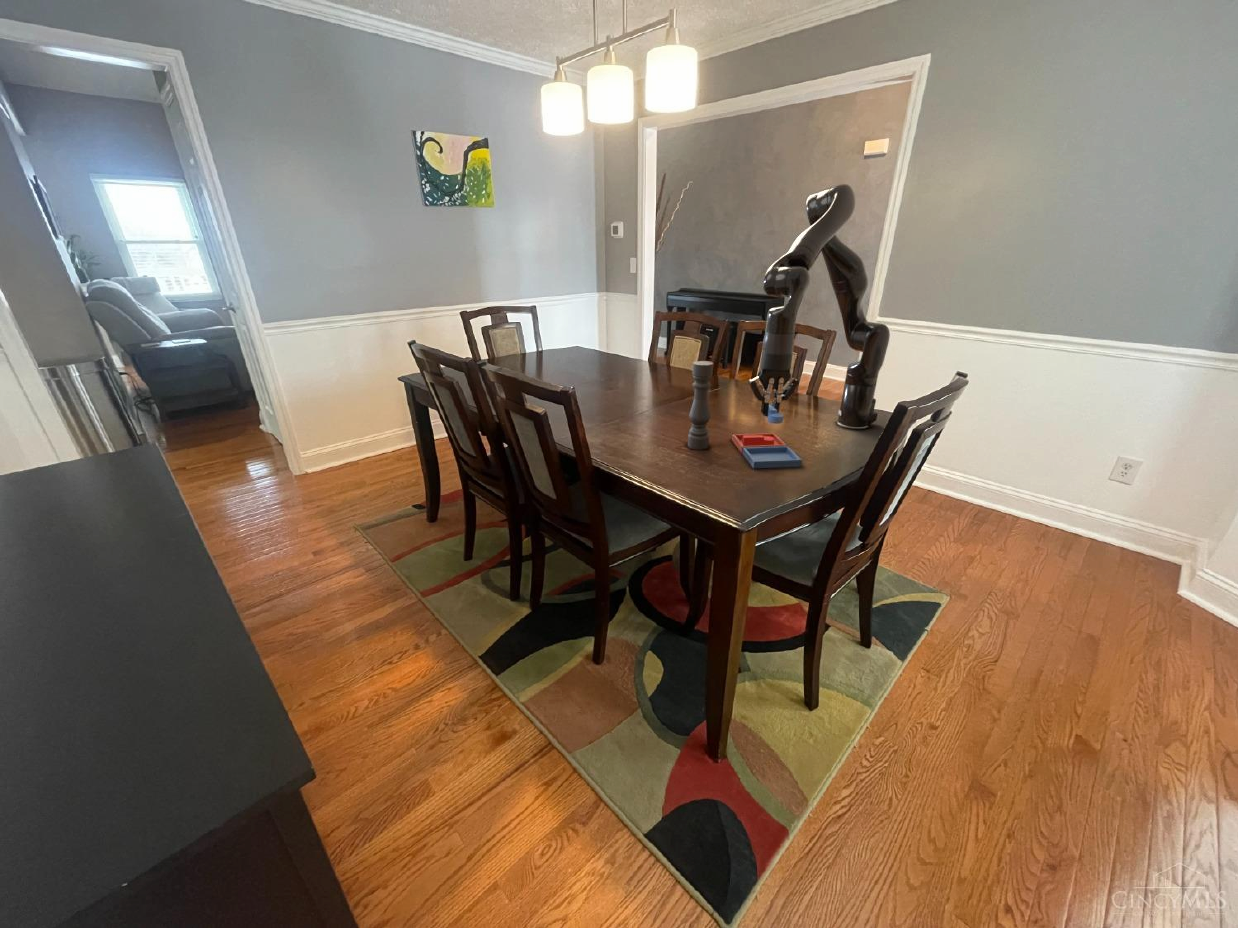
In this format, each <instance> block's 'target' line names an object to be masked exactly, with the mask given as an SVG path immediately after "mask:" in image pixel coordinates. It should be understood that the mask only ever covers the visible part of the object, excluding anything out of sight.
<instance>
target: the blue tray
mask: <svg viewBox="0 0 1238 928" xmlns="http://www.w3.org/2000/svg"><path fill="white" fill-rule="evenodd" d="M741 454H742V455H743V457H744V459H745V460H746V461H747V462H748V463H749V465H750V466H751V467H752V469H771V468H772V469H775V468H777V469H778V468H801V467H802V464H803V459H802V458H801V457H800V456H799V455H798V454H797V453H796V452H795V451H794V450H793V449H791V447H790V446H788V445H787V446H781V447H749V448H743V453H741Z"/></svg>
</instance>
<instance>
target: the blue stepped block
mask: <svg viewBox="0 0 1238 928" xmlns="http://www.w3.org/2000/svg"><path fill="white" fill-rule="evenodd" d="M765 417H766V418H767V422H768V423H770V424H776V425H777V424H779V425H780V424H783V422H784V414H782V413H780V412H779V413H777V410H776V409H775V408H774V407H772V404H770V403H769V409H768V416H765Z"/></svg>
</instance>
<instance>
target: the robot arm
mask: <svg viewBox="0 0 1238 928" xmlns="http://www.w3.org/2000/svg"><path fill="white" fill-rule="evenodd" d="M805 203H806V204H805V211H806V217H807V221H808V223H809V226H808V227H807V228H806V229H805V230H803V232H801V233H800V234H799V235H798V237H796V239H795V240H794V242H793V243H792V244H791V246H790V247H789V249H788V251H787V252H786V253H785V254H784V255H782V256H781V257H779V259H777V260H776V261H775V262H773V264H771V266H770V267H769V268H768V269H767V270H766V272H765V274H764V276H763V280H762V289H763V292H764V293H765V294H766V295H768V296H769V297H776V298H777V297H778V298H788V299H787V301H786V303H785V304H784V305H781V306H774V307H771V308H770V309H768V311H767V315H766V322H765V333H764V337H763V340H762V346H761V349H762V350H761V359H760V368H759V372H758V373H757V376H756V377H754V378H749V379H748V381H747V382H748V385H749V387H750V390H751V391H752V393H753V395H754V397H755V398H756V399H757V400H758V401H760V402H761V405H760V406H761V407H760V413H761V414H762V415H763V416H764V417H766V416H768V409H769V404H770V398H771V395H772V391H773V400H772V402H771V406H772V407H774V408H775V409H776V410H777V413H779V414H780V406H781V403H782V402H783V401H788V400H789V398H790V397H791V396H792V394H793V393H794V391H795V390H796V389H797V387H798V386H799V384H800V381H799V380H798V379H797V378H795V377H793V376H792V373H791V369H792V361H793V354H794V346H795V332H796V331H795V330H796V323H797V317H798V314H799V310H800V308H801V305H802V302H803V300H804V297H805V295H806V293H807V290H808V288H809V285H810V280H811V278H810V273H809V272H810V270H811V269H812V268H813V266H814V264H815V262H816V261H817V260H818V258H819V255H820V254H822V258H823V260H824V263H825V266H826V269H827V272H828V277H829V281H830V283H831V287H832V289H833V292H834V296H835V298H836V301H837V304H838V308H839V311H840V315H841V320H842V325H843V329H844V335H845V339H846V343H847V345H848V347H849V348H850V349H851V350H853V351H855V352H860V353H862V354H861V357H860V360H858V361H855V362H854V361H853V362H851V363H849V364H848V365H847V367H846V373H845V379H844V385H843V390H842V395H841V401H840V406H839V409H838V412H837V413H838V417H837V422H836V424H837V425H838V426H840V427H842V428H845V429H848V430H866V429H870V428H871V426H872V424H873V423H875V422H876V421H877V419H878V415H879V413H878V412H875V407H876V402H877V400H876V398H875V393H876V387H877V384H878V383H877V382H878V378H879V373H880V372H881V369H882V367H883V365H884V362H885V358H886V354H887V352H888V351H887V350H888V347H889V343H890V336H891V334H890V328H889V327H888V325H886V324H884V323H880V322H873V321H868V319H867V317H866V315H865V312H864V308H863V302H864V299H865V296H866V294H867V292H868V288H869V287H868V285H869V278H868V275H867V270H866V267H865V264H864V261H863V259H862V258H861V256H860V255H859V254H858V253H857V252H856V251H854V250H853V249H852V248H851V247H849V246H848V245H847V244H845V243H844V242H843V241H842V240H841V239H840V238H839V237H838V236H837V233H838V232H839V230H841V228H842V227H843V226H845V224H846V223H847V222H848V221H849V220H850V219H851V217H852V216H853V214H854V212H855V208H856V194H855V191H854V189H853V187H851V185H849V184H847V183H841V184H835V185H833V186H830V187H827V188H825V189H822V190H820V191H816V192H813V193H812V194H810V195H809V196H808V198H807V200H806V202H805ZM760 384H761V385H762V393H761V391H760V389H759V385H760ZM786 384H787V385H786ZM785 386H786V387H785ZM784 387H785V388H784Z"/></svg>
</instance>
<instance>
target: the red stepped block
mask: <svg viewBox="0 0 1238 928" xmlns="http://www.w3.org/2000/svg"><path fill="white" fill-rule="evenodd" d="M742 444H743V446H749V445H774V438H773V437H770V436H763V435H747V436H743V438H742Z"/></svg>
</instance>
